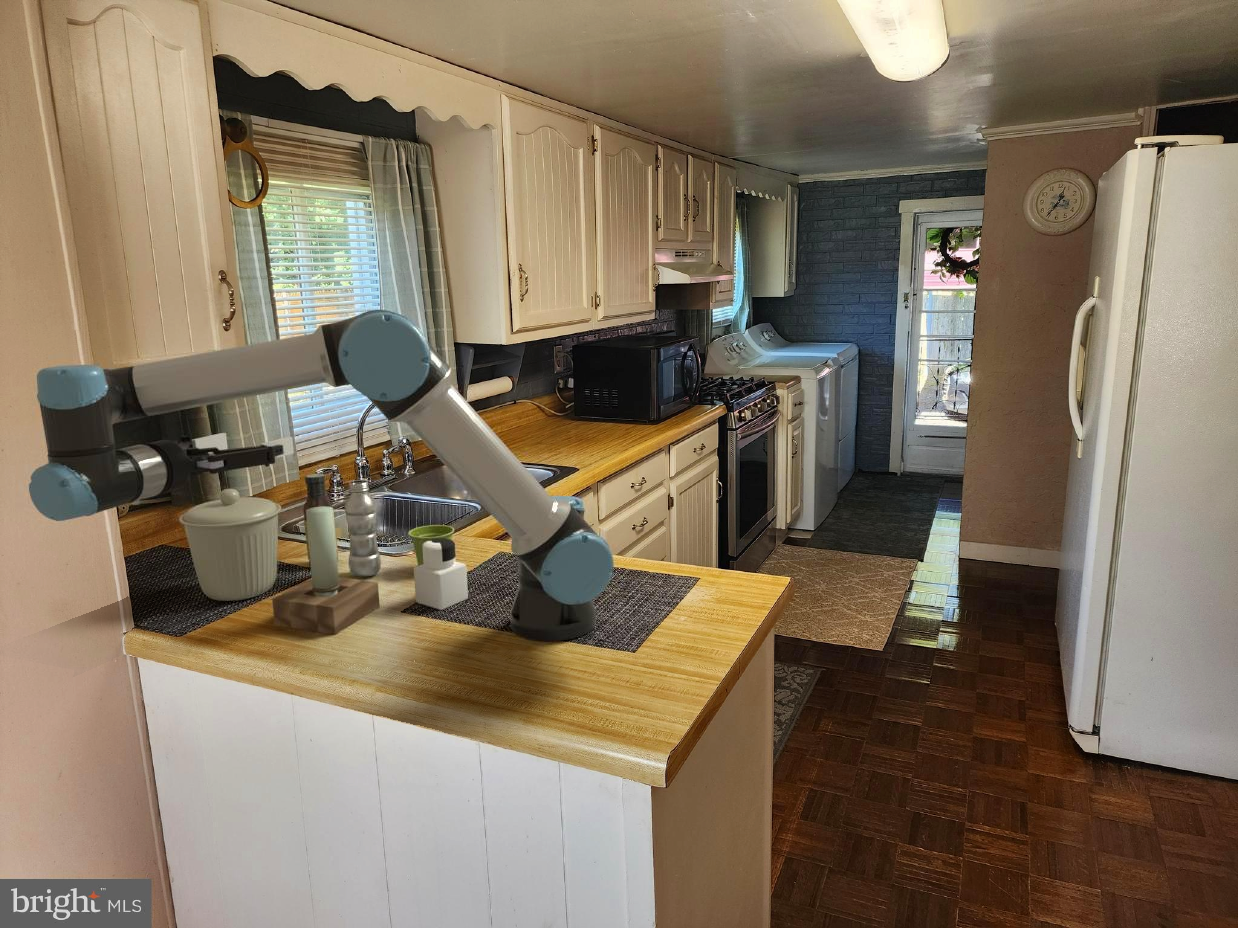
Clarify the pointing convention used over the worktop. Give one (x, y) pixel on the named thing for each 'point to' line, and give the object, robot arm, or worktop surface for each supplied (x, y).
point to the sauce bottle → (316, 501)
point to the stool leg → (322, 551)
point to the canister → (233, 545)
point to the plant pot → (428, 537)
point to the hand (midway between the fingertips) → (257, 442)
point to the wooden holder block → (326, 606)
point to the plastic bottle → (362, 530)
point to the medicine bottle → (440, 575)
